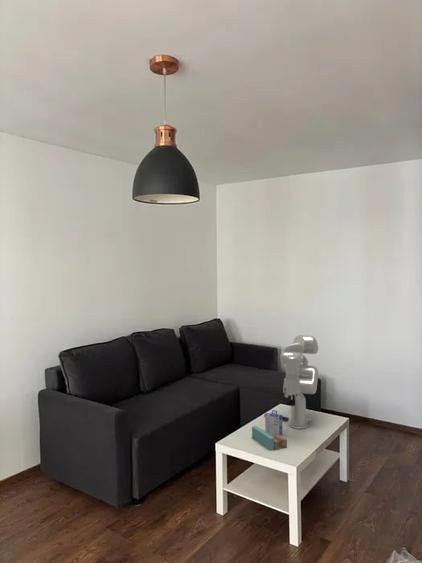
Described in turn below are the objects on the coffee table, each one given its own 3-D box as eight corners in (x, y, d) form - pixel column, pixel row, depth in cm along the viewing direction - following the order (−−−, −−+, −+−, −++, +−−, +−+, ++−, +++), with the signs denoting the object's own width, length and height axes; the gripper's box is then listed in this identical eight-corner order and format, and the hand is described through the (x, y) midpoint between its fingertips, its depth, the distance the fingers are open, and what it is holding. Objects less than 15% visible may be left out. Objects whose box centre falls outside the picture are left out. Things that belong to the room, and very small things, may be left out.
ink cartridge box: (283, 433, 267) (282, 411, 266) (279, 437, 262) (279, 414, 261) (268, 430, 272) (268, 408, 271) (265, 433, 267) (264, 411, 267)
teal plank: (256, 436, 263) (256, 425, 262) (274, 449, 244) (274, 437, 244) (252, 437, 261) (252, 426, 261) (270, 450, 243) (270, 438, 243)
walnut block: (279, 442, 254) (279, 434, 254) (286, 447, 247) (286, 439, 247) (267, 445, 251) (267, 437, 251) (275, 450, 244) (275, 442, 243)
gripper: (298, 372, 263) (298, 400, 265) (278, 376, 257) (278, 405, 258) (305, 375, 257) (306, 404, 258) (285, 379, 250) (285, 409, 252)
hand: (292, 405), depth 258 cm, fingers closed
